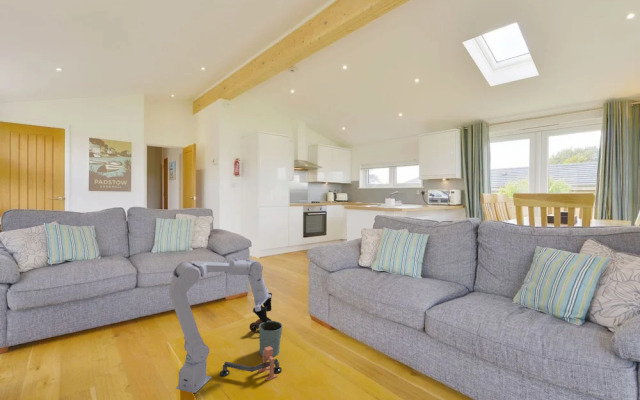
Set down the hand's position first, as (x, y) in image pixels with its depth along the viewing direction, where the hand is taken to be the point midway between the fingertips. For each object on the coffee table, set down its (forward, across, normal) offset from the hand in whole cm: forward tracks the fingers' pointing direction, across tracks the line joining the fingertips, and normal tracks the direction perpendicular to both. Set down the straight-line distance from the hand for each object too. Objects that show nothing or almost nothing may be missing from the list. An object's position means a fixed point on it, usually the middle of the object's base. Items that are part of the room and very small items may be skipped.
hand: (266, 316), depth 129 cm
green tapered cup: (+18, +1, +4) cm, 19 cm away
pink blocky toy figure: (+16, -14, 0) cm, 21 cm away
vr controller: (+20, +19, +14) cm, 31 cm away
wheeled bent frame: (+14, -14, +7) cm, 21 cm away
